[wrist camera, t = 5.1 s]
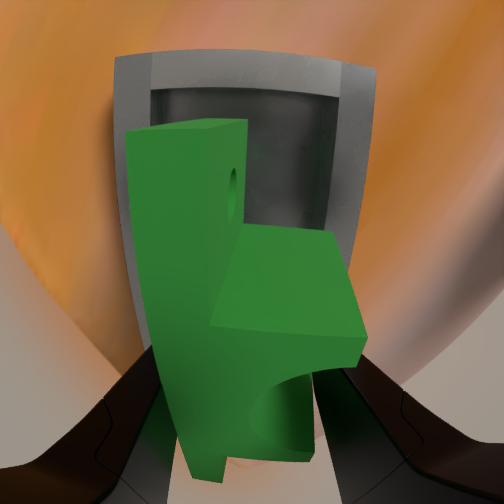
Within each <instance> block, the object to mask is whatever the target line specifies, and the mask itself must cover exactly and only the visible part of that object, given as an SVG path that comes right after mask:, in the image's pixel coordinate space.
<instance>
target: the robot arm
mask: <svg viewBox="0 0 504 504" xmlns="http://www.w3.org/2000/svg"><path fill="white" fill-rule="evenodd" d="M312 379H313V386H314V393H315V397H316V401H317V405H318V409H319V413H320V417H321V420H322V424H323V428H324V432H325V436H326V440H327V443H328V447H329V451H330V455H331V459H332V463H333V467H334V471H335V475H336V480H337V484H338V488H339V492H340V496H341V500H342V504H504V443H484V442H479V441H476V440H473V439H471V438H469V437H468V436H466V435H464V434H463V433H462V432H460V431H459V430H457V429H455V428H454V427H452V426H451V425H449V424H448V423H447V422H445V421H443V420H442V419H441V418H439V417H438V416H436V415H435V414H434V413H432V412H431V411H429V410H428V409H427V408H425V407H424V406H423V405H421V404H420V403H419V402H418V401H417V400H415V399H414V398H413V397H412V396H410V395H409V394H408V393H407V392H406V391H403V389H402V388H401V387H400V386H399V385H398V384H396V383H395V382H394V381H393V380H392V379H391V378H389V377H388V376H387V375H386V374H385V373H384V372H382V371H381V370H380V369H379V368H378V367H377V366H375V365H374V364H373V363H372V362H371V361H370V360H368V359H367V358H366V357H365V356H364V355H363V354H361V356H360V359H359V361H358V364H357V366H356V367H345V368H334V369H327V370H321V371H316V372H312ZM103 398H104V399H101V400H100V401H99V402H98V403H97V404H96V405H95V407H94V408H93V409H92V410H91V411H90V412H89V413H88V414H87V415H86V416H85V417H84V418H83V419H82V420H81V421H80V422H79V423H78V424H77V425H75V426H74V427H73V428H72V429H71V430H70V431H69V432H68V433H67V434H65V435H64V436H63V437H62V438H61V439H60V440H58V441H57V442H56V443H55V444H54V445H53V446H51V447H50V448H49V449H48V450H47V451H46V452H44V453H43V454H42V455H41V456H39V457H38V458H36V459H35V460H33V461H31V462H29V463H26V464H24V465H19V466H14V467H8V468H2V469H0V504H167V497H168V491H169V484H170V478H171V471H172V464H173V458H174V452H175V446H176V440H177V432H176V429H175V426H174V423H173V420H172V417H171V413H170V410H169V407H168V403H167V400H166V396H165V393H164V389H163V386H162V384H161V380H160V376H159V372H158V368H157V364H156V360H155V356H154V352H153V348H152V344H151V345H150V346H149V348H148V349H147V350H146V351H145V352H144V353H143V354H142V355H141V356H140V357H139V358H138V359H137V361H136V362H135V363H134V364H133V365H132V366H131V367H130V368H129V369H128V370H127V372H126V373H125V374H124V375H123V376H122V377H121V378H120V379H119V380H118V381H117V382H116V384H115V385H114V386H113V387H112V388H111V389H110V390H109V391H108V393H107V394H106V395H105V396H104V397H103Z"/></svg>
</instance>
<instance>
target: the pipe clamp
mask: <svg viewBox="0 0 504 504" xmlns="http://www.w3.org/2000/svg"><path fill="white" fill-rule="evenodd" d="M247 131H248V119H225V118H205V119H197V120H189V121H182V122H175V123H168V124H162V125H156V126H150V127H145V128H140V129H135V130H130V131H125V136H126V163H127V180H128V193H129V205H130V215H131V224H132V233H133V241H134V249H135V256H136V263H137V270H138V276H139V282H140V288H141V294H142V299H143V305H144V310H145V315H146V320H147V325H148V330H149V334H150V339H151V343H152V348H153V352H154V356H155V360H156V364H157V368H158V372H159V376H160V380H161V384H162V386H163V389H164V393H165V396H166V400H167V403H168V407H169V410H170V413H171V417H172V420H173V423H174V426H175V429H176V432H177V437H178V439H179V443H180V446H181V448H182V451H183V454H184V457H185V460H186V462H187V465H188V468H189V470H190V473H191V476H192V478H194V479H199V480H206V481H211V482H217V483H222V482H223V476H224V470H225V465H226V459H227V456H229V457H237V458H245V459H255V460H268V461H285V462H310V460H311V458H312V456H313V455H314V453H315V447H314V446H315V443H314V411H313V388H312V372H316V371H321V370H327V369H334V368H345V367H356V366H357V364H358V361H359V359H360V356H361V354H362V351H363V349H364V346H365V343H366V341H367V338H368V337H367V333H366V330H365V326H364V323H363V320H362V316H361V313H360V310H359V307H358V303H357V300H356V297H355V294H354V291H353V288H352V285H351V282H350V279H349V276H348V273H347V270H346V267H345V264H344V261H343V258H342V256H341V253H340V250H339V247H338V244H337V242H336V239H335V236H334V233H333V231H323V230H312V229H302V228H291V227H280V226H268V225H257V224H244V223H243V220H244V196H245V174H246V152H247Z"/></svg>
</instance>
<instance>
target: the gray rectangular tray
mask: <svg viewBox="0 0 504 504" xmlns="http://www.w3.org/2000/svg"><path fill="white" fill-rule="evenodd" d="M375 86H376V69H373V68H369V67H365V66H361V65H356V64H352V63H347V62H342V61H337V60H331V59H326V58H320V57H313V56H306V55H299V54H291V53H282V52H271V51H257V50H236V49H196V50H175V51H162V52H151V53H142V54H134V55H127V56H120V57H115V66H114V94H113V127H114V155H115V172H116V185H117V196H118V206H119V215H120V224H121V232H122V239H123V246H124V253H125V259H126V265H127V271H128V277H129V282H130V288H131V293H132V298H133V303H134V308H135V312H136V317H137V321H138V326H139V330H140V334H141V338H142V342H143V346H144V350H145V351H146V350H147V349H148V348H149V346H150V345H151V344H152V343H151V339H150V334H149V330H148V325H147V320H146V315H145V310H144V305H143V299H142V294H141V288H140V282H139V276H138V270H137V263H136V256H135V249H134V241H133V233H132V224H131V215H130V205H129V193H128V180H127V163H126V136H125V131H130V130H135V129H140V128H145V127H150V126H156V125H162V124H168V123H175V122H182V121H189V120H197V119H205V118H225V119H248V131H247V152H246V174H245V196H244V220H243V223H244V224H257V225H268V226H280V227H291V228H302V229H312V230H323V231H333V233H334V236H335V239H336V242H337V244H338V247H339V250H340V253H341V256H342V258H343V261H344V264H345V267H346V270H347V273H348V268H349V264H350V259H351V255H352V250H353V245H354V240H355V235H356V230H357V225H358V220H359V214H360V209H361V203H362V197H363V191H364V185H365V178H366V171H367V164H368V157H369V149H370V141H371V132H372V122H373V112H374V100H375ZM312 382H313V379H312Z"/></svg>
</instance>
